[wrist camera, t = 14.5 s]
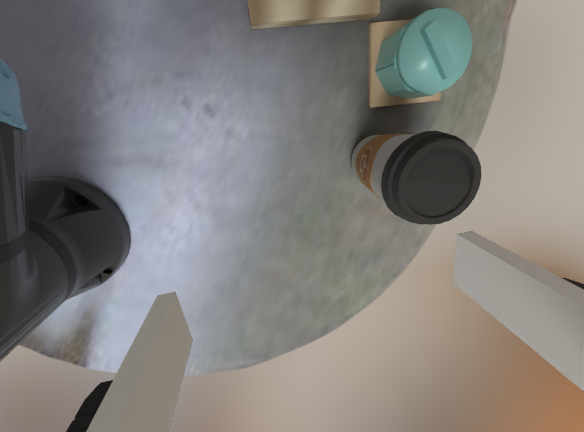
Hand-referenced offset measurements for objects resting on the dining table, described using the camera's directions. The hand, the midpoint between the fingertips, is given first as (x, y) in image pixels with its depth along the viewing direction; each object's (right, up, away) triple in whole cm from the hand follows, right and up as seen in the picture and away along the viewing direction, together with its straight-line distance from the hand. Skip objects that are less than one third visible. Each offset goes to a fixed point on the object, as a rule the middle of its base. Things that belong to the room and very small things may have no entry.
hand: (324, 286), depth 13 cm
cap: (+12, +21, +20) cm, 32 cm away
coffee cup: (+9, +11, +25) cm, 29 cm away
